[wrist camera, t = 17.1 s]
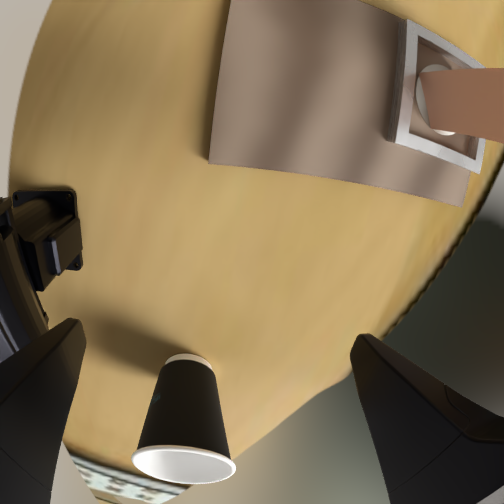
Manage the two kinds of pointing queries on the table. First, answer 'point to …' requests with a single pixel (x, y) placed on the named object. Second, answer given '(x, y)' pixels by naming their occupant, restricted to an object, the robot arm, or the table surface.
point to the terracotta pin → (466, 101)
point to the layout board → (338, 98)
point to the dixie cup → (185, 426)
